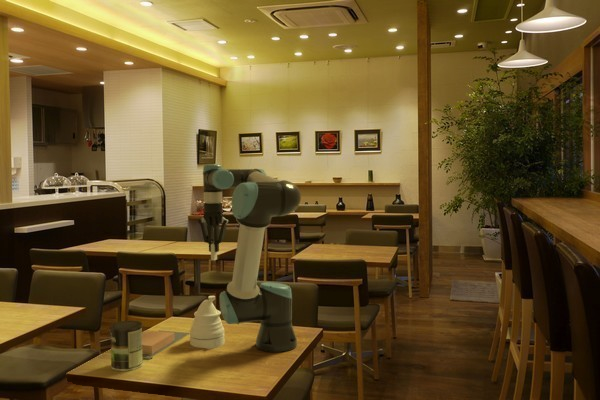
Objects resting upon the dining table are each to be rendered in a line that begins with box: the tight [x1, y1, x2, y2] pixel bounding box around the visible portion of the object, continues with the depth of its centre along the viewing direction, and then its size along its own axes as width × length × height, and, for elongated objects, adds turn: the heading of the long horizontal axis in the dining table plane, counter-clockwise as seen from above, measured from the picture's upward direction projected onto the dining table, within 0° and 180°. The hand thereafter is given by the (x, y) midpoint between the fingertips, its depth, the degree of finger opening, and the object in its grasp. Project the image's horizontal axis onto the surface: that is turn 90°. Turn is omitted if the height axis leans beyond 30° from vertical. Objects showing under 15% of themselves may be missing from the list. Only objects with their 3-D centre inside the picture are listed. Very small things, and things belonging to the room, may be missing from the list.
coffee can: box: [109, 320, 144, 372], centre depth 187 cm, size 10×10×14 cm
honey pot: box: [189, 295, 226, 350], centre depth 210 cm, size 13×13×18 cm
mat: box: [142, 330, 190, 360], centre depth 209 cm, size 30×14×1 cm, turn 164°
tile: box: [142, 330, 174, 355], centre depth 206 cm, size 3×12×16 cm
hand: (214, 259), depth 229 cm, fingers closed
